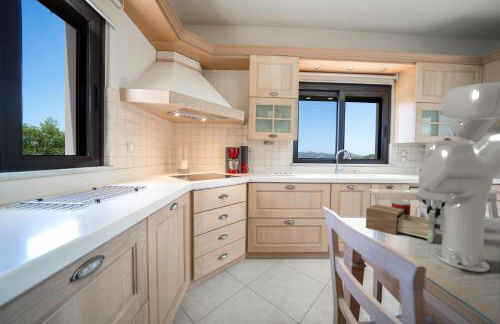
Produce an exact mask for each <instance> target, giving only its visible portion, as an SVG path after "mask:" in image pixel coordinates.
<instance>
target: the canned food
mask: <svg viewBox="0 0 500 324" xmlns="http://www.w3.org/2000/svg"><path fill="white" fill-rule="evenodd" d="M391 207H396V208H402V209H404V215H410V216H411V203H410V201H409V202H408V201H404V200H396V199H395V200H392V201H391Z"/></svg>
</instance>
